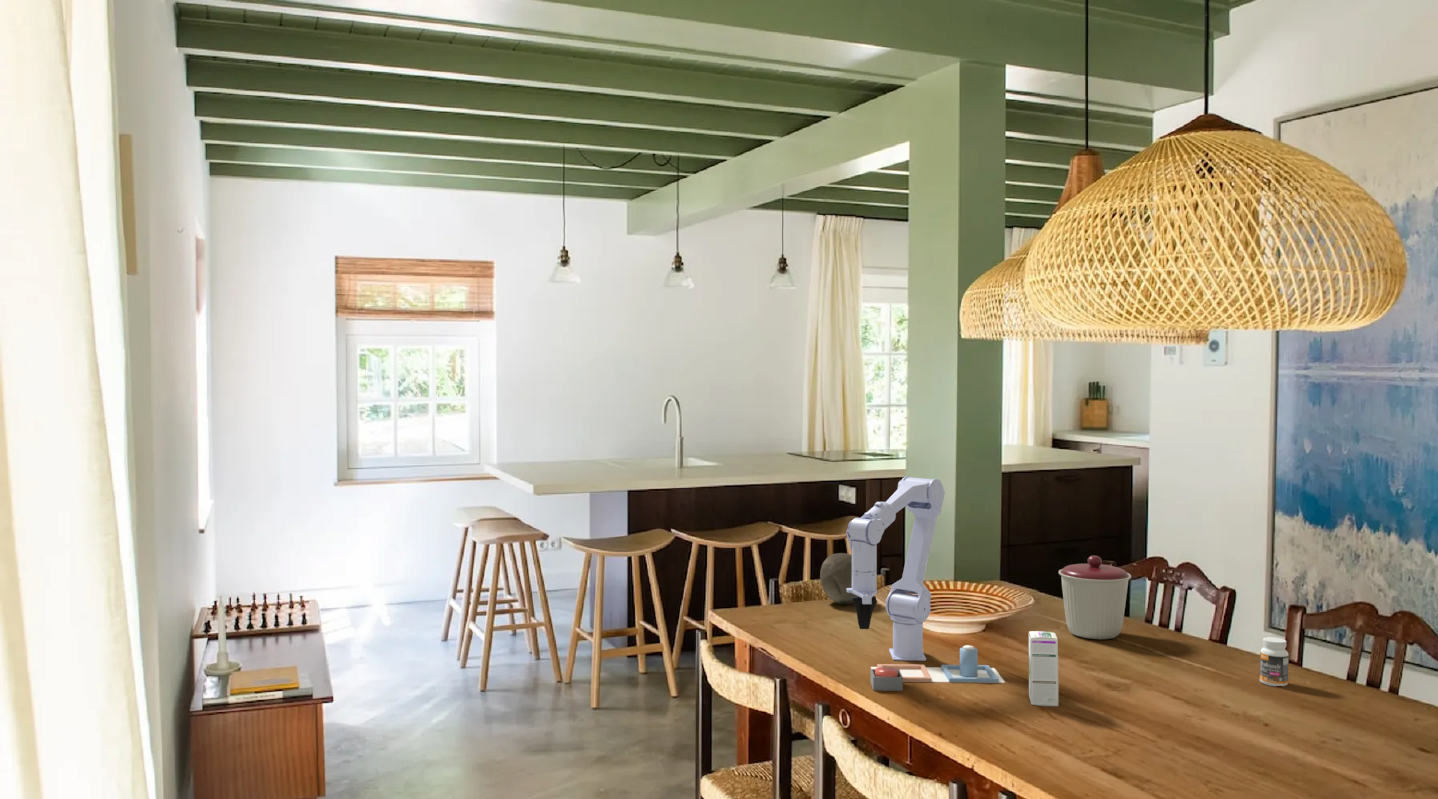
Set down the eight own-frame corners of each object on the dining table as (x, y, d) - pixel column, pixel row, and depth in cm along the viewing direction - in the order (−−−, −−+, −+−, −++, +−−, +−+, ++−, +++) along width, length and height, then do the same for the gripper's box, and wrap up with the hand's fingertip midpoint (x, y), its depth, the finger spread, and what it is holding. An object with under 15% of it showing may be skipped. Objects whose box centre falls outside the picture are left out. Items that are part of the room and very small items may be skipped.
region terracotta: (877, 667, 252) (877, 664, 252) (924, 667, 252) (924, 664, 252) (882, 681, 241) (882, 677, 241) (931, 681, 241) (931, 678, 241)
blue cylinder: (956, 673, 247) (956, 644, 247) (972, 672, 248) (972, 644, 248) (964, 678, 243) (964, 649, 243) (980, 677, 244) (980, 648, 244)
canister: (1122, 647, 270) (1123, 564, 269) (1050, 637, 280) (1050, 557, 279) (1136, 632, 285) (1137, 553, 285) (1067, 623, 295) (1068, 547, 294)
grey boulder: (876, 604, 318) (876, 554, 318) (837, 610, 311) (837, 559, 311) (847, 596, 330) (847, 547, 330) (809, 601, 323) (809, 552, 323)
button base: (870, 682, 241) (870, 669, 241) (899, 682, 241) (899, 669, 240) (873, 690, 234) (873, 677, 234) (902, 691, 234) (902, 677, 234)
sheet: (870, 667, 253) (870, 666, 253) (994, 668, 251) (994, 668, 251) (875, 681, 241) (875, 681, 241) (1005, 683, 240) (1005, 682, 240)
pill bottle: (1256, 683, 239) (1256, 639, 239) (1264, 678, 243) (1264, 635, 243) (1283, 689, 235) (1284, 644, 235) (1291, 683, 239) (1292, 639, 239)
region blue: (941, 668, 251) (941, 664, 251) (988, 668, 251) (988, 665, 251) (949, 681, 240) (949, 678, 240) (998, 682, 240) (998, 678, 240)
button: (873, 675, 240) (873, 666, 240) (896, 675, 240) (896, 667, 240) (876, 682, 235) (876, 673, 235) (899, 682, 235) (899, 673, 235)
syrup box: (1059, 706, 223) (1059, 638, 223) (1029, 705, 224) (1030, 636, 224) (1056, 698, 229) (1056, 631, 228) (1027, 696, 230) (1027, 630, 230)
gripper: (844, 564, 255) (844, 620, 255) (849, 576, 240) (849, 636, 241) (874, 564, 254) (874, 620, 255) (880, 576, 240) (880, 636, 240)
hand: (864, 628), depth 248 cm, fingers closed
